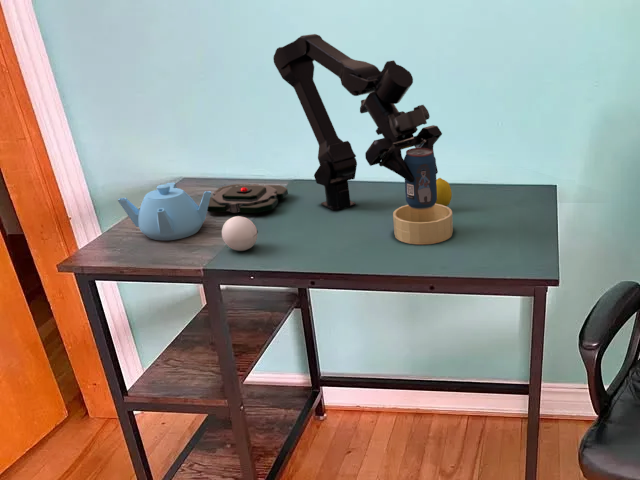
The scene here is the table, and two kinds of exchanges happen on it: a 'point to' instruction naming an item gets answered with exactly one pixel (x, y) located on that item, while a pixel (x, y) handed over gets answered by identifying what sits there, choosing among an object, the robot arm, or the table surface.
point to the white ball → (239, 233)
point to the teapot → (168, 213)
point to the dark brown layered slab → (246, 198)
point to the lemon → (443, 192)
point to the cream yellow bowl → (423, 224)
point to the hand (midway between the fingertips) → (424, 177)
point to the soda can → (421, 178)
